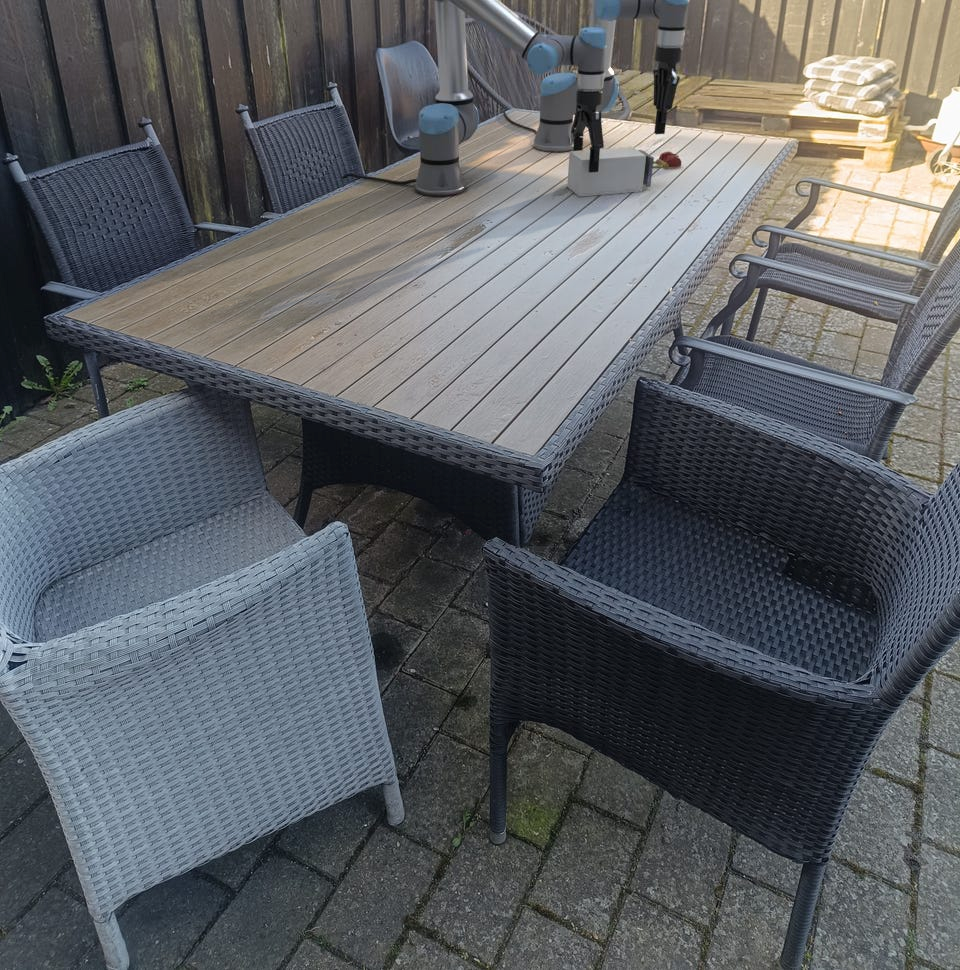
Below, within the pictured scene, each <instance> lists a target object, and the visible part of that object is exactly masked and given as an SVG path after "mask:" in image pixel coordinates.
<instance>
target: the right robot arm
mask: <svg viewBox="0 0 960 970" xmlns="http://www.w3.org/2000/svg"><path fill="white" fill-rule="evenodd" d="M689 5H690V0H591V4H590V14H589V15H590V16H589V25H588V27H589V28H592V27H596V28H603V29H604V30H605V31H606V46H607V48H606V56H605V68H604V76H605V79H604V82H603V88H602V89H601V90H602V91H603V99H602V104H601V105H598V106H597V107H596V108H597V112H600V111H601V114H602V113H608V112H610V111H612V109H613V108H614V107H615V105H616V102H617V100H618V96H619V88H620V87H619V81H618V78H617V77H616V76H615V72H614V70H613V68H612V67H611V64H612V54H613V48H614V39H615V31H616V25H617V24H616V23H617V21H623V20H625V21H626V20H646V19H656V20H658V27H657V33H656V34H657V35H656V47H655V54H654V60H655V62H657V63H658V65H657V68H655V69H653V71H652V74H653V106H654V107H655V109H656V114H655V123H654V130H653V131H654V132H653V133H654V134H655V135H665V133H666V124H667V116H668V111H670V110H671V111H672V109H673V105H674V101H675V96H676V92H677V88H678V84H679V82H680V79H681V77H680V76H679V75H677V74H676V73H677V64H678V63H680V62H682V59H683V47H682V46H683V45H684V40H685V36H686V25H687V20H688V19H687V18H688V10H689ZM577 90H578V88H577V75H576V74H575V73H572V72H559V73H558V72H557V73H553V74H550V75H547V76H546V77H544V78H543V79H542V81H541V85H540V92H539V95H540V101H539V102H540V105H539V125H538V127H537V130H536V129H534V128H531V127H528V126H525V125H523V124H520V123H517V122H515V121H513V120H512V119H510V117H508V115H507V113H506V111H504V110H503V111H502V113H503V115H504V117H505V119H506V120H507V121H508V122H510V123H511V124H512V125H515V126H517V127H519V128H522V129H524V130H528V131H530V132H533V133H535V136H534V140H533V148H534V149H536V150H538V151H543V152H550V153H563V152H570V151H573V146H574V138H575V137H573V134H572V133H571V130H572V125H573V121H574V116H575V113H576V105H577V103H576V95H577Z"/></svg>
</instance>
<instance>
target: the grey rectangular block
mask: <svg viewBox="0 0 960 970" xmlns="http://www.w3.org/2000/svg"><path fill="white" fill-rule="evenodd" d="M638 150H639V149H636V148H635V147H633V146H624V147H622V146H621V147H609V148H608V147H607V148H601V149H600V154H599V168H598V172H591V173H590V172H589V160H590V149H583V150H580V151H573V150H570V151H569V153H568V154H569V155H568V168H567V169H568V171H567V188H568V189H569V190H570V191H572V192H573V193H574V194H575V195H576V196H578V197H591V196H602V195H603V196H605V195H615V194H628V193H641V192H643V188H644V185H643V180H644V171H645V162H646V155H645V154H643V153H641V152H640V151H638Z"/></svg>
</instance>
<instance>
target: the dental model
mask: <svg viewBox="0 0 960 970" xmlns="http://www.w3.org/2000/svg"><path fill="white" fill-rule="evenodd" d="M658 159H660V160H662V161H663V162H665V163H667V164H668V165H669V168H677V167H678V168H681V166H682V160H681V158H680V156H679V154H677V153H674V152H672V151H664V152H662V153H661V154H660V155H659V157H658Z"/></svg>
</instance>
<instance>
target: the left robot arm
mask: <svg viewBox="0 0 960 970" xmlns="http://www.w3.org/2000/svg"><path fill="white" fill-rule="evenodd" d="M433 2H434V3H433V4H434V19H435V36H436V46H437V47H436V50H437V52H436V53H437V65H438V66H437V68H438V81H439V82H438V83H439V84H438V85H439V92H438V93H437V94H436V95H435V98H434V100H435V103H433V104H429V105H425V106H424V107H422V109H420V111H419V113H418V122H417V124H418V136H419V138H418V139H419V157H420V158H419V159H420V161H419V162H420V164H419V168H418V172H417V176H416V178H413V179H407V180H393V179H387V178H381V177H376V176H375V177H374V176H368V175H362V174H357V173H354V172H348V173H345V174H344V175H343V176H342V177H341V180H345V179H347V178H348V177H354V178H358V179H360V180H361V179H362V180H369V181H375V182H380V183H381V182H382V183H387V184H392V185H393V184H394V185H401V186H402V185H403V186H404V185H409V184H413V183H415V185H414V186H415V192H417V193H418V194H420V195H424V196H430V197H450V196H455V195H459V194H461V193H463V192H464V191H466V181H465V179H464V176H463V172H462V169H461V165H460V145H461V144H463V143H464V142H467V141H468V140H470V139H471V138H472V137H473V136H474V134H475V133H476V131H477V129H478V127H479V123H480V114H479V111H478V108H477V107H476V106H475V104H474V101H475V100H474V94H473V93H472V92H471V91H470V90H469V80H468V60H467V59H468V56H467V35H466V15H467V16H468V17H470V18H471V19H472V20H474V21H475V22H476V23H478V24H479V25H480V26H481V27H483V29H485V30H486V31H487V32H488V33H490V34H491V35H493V36H494V37H495V38H496V39H498V40H499V41H500V42H501V43H503V44H504V45H505V46H507V48H509V49H510V50H512V51H513V52H514V53H516V54H517V56H519V57H520V58H522V59H523V60H524V61H525V62H526V64H527V66H528V68H529V70H530V71H531V72H532V73H533V74H535V75H546V74H550V73H551V72H553V71H554V70H555V69H557V68H558V67H559V66H573V67H575V66H576V67H577V74H576V78H577V88H578V90H577V95H576V103H577V105H576V113H575V114H574V116H573V125H572V130H571V133H572V134H573V137H575V138H574V146H573V150H572V151H580V150H584V136H585V133H584V132H585V130H586V128H587V130H588V135H589V141H590V147H589V150H590V160H589V172H590V173H591V172H598V168H599V154H600V149H604V135H603V124H602V113H601V111H600V112H597V108H596V107H597V106H598V105H601V104H602V99H603V91H602V90H601V89H602V88H603V82H604V79H605V76H604V68H605V56H606V48H607V46H606V31H605V30H604V29H603V28H596V27H592V28H589V26H588V27H583V28H581V29H580V30H579V34H578V35H566V34H565V35H563V34H553V33H549V34H541V33H540V32H539V31H538V30H536V29H535V28H534V27H533V26H531V25H530V24H529V23H528V22H527V21H525V20H524V19H523V18H521V16H519V15H518V14H517V13H515V12H514V11H513V10H512V9H510V7H508V6H507V5H505V4H504V3H503V2H502V1H500V0H433Z"/></svg>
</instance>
